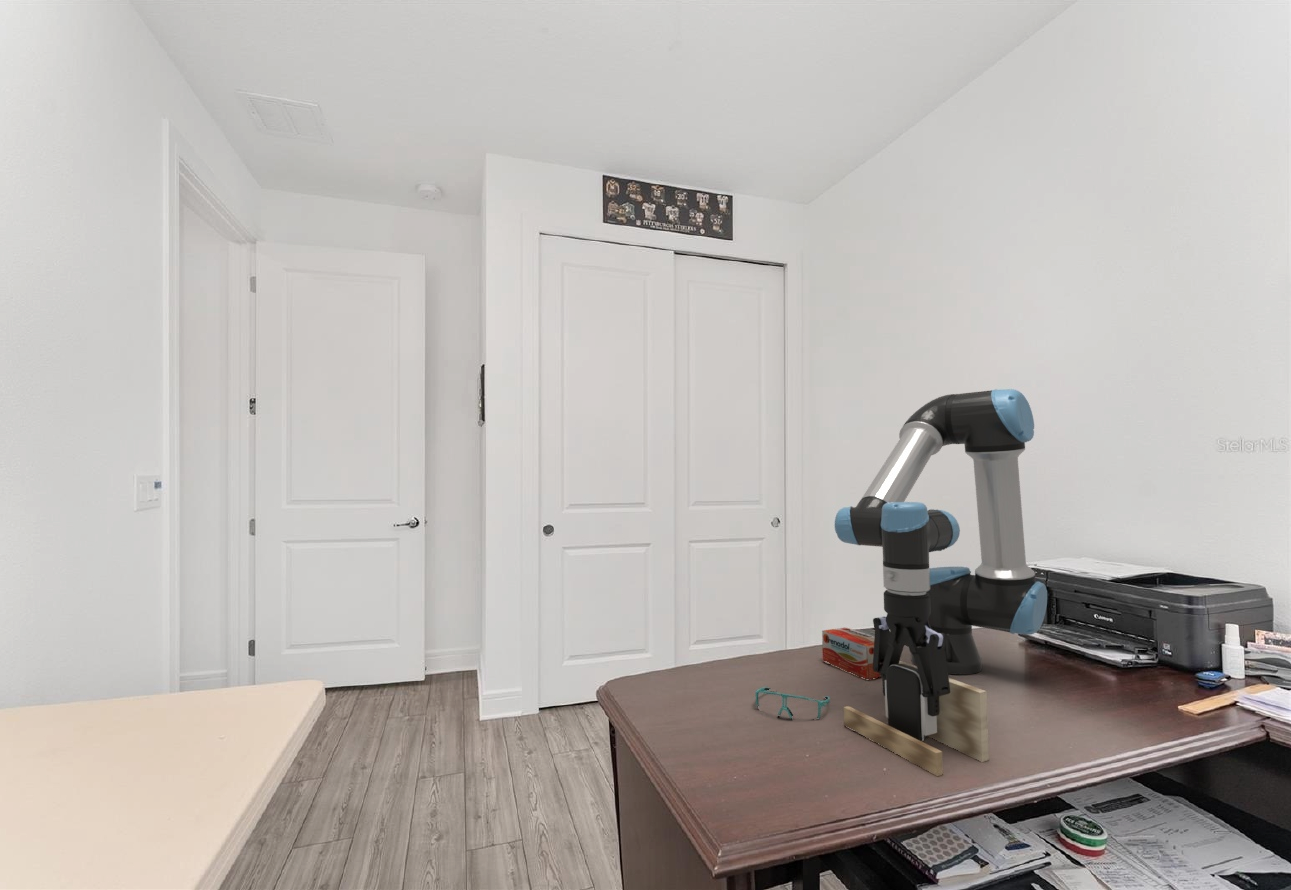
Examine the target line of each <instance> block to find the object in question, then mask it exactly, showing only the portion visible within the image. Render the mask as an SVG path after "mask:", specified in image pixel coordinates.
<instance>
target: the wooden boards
mask: <svg viewBox="0 0 1291 890" xmlns="http://www.w3.org/2000/svg"><path fill="white" fill-rule="evenodd" d="M899 664H905V665H909V666H912V667H915V668H917V666H916V665H915V664H911V663H907V662H905V661H902V660H900V661H899ZM949 685H950V693H949V694H946V695H942V696H939V710H940V713H939V715H937V733H934V734H931V735H928V738H930V739H932V738H933V739H932V740H934V739H935V740H934V741H936V740H937V741H936V742H939V743H940V742H941V743H940V744H942V743H944V744H943V745H945V744H946V745H945V746H947V745H948V746H947V747H949V748H951V749H953V748H954V749H953V750H955V749H956V750H955V751H957V750H958V751H957V752H960V753H961V754H964V755H966V756H968V757H970V758H972V759H975V760H976V759H977V761H978V760H979V761H978V762H981V763H984V762H987V761H989V759H990V756H989V755H990V754H989V753H990V751H989V731H988V730H989V727H988V699H987V696H988V695H987V690H984V689H981V688H978V687H976V686H973V685H970V684H967V683H965V682H962V681H959V680H956V679H953V678H950V677H949ZM931 688H932V686H931ZM884 716H886V705H885V704H884ZM844 725H845V726H847V727H849V728H851V729H853V730H855V731H856V732H858V733H860V734H862V735H864V736H865V737H867V738H870V739H871V740H873V741H874V742H876V743H879V744H880V745H882V746H884V747H885V748H888V749H889V750H891V751H892V752H891V751H890V752H891V753H893V752H894V753H893V754H895V755H896V754H898V755H900V756H901V758H902V757H903V758H902V759H904V758H905V759H904V760H906V759H907V760H906V761H908V760H909V761H908V762H910V763H911V762H912V764H914V765H915V764H916V765H915V766H917V765H918V766H917V767H919V766H920V767H919V768H921V767H922V768H921V769H923V770H925V769H926V770H928V771H929V773H930V774H932V775H934V776H936V777H940V776H942V774H944V768H943V767H944V766H943V751H942V750H940V749H938V748H936V747H934V746H931V745H929V744H928V743H925V742H924V741H919V740H917V739H915V738H913V737H911V736H909V735H907V734H905V733H903V732H901V731H899V730H897V729H895V728H893V727H891V726H889V725H888V723H887V724H886V723H884V722H882V721H880V720H878V719H876V718H874V717H872V716H870V715H868V714H866V713H864V712H861V711H860V710H858V709H856V708H853V707H852V706H850V705H849V706H847V705H846V706H843V726H844ZM865 737H864V738H865ZM867 738H866V739H867ZM874 742H873V743H874ZM876 743H875V744H876ZM880 745H879V746H880ZM882 746H881V747H882ZM885 748H884V749H885ZM889 750H888V751H889ZM898 755H897V756H898ZM900 756H899V757H900ZM926 770H925V771H926ZM928 771H927V772H928Z"/></svg>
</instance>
